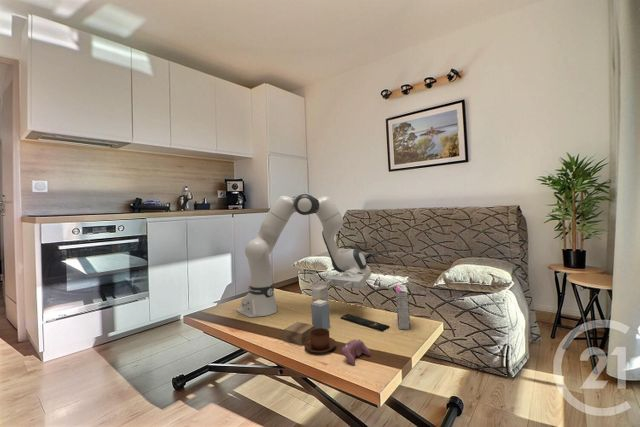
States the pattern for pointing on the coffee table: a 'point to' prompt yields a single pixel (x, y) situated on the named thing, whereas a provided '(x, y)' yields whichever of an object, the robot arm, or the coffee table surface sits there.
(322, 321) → the tall gray box
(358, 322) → the remote control
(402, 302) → the candy bar box
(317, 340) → the cup and saucer
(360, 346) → the video game controller
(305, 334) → the walnut block
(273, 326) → the coffee table surface
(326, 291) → the ink box
